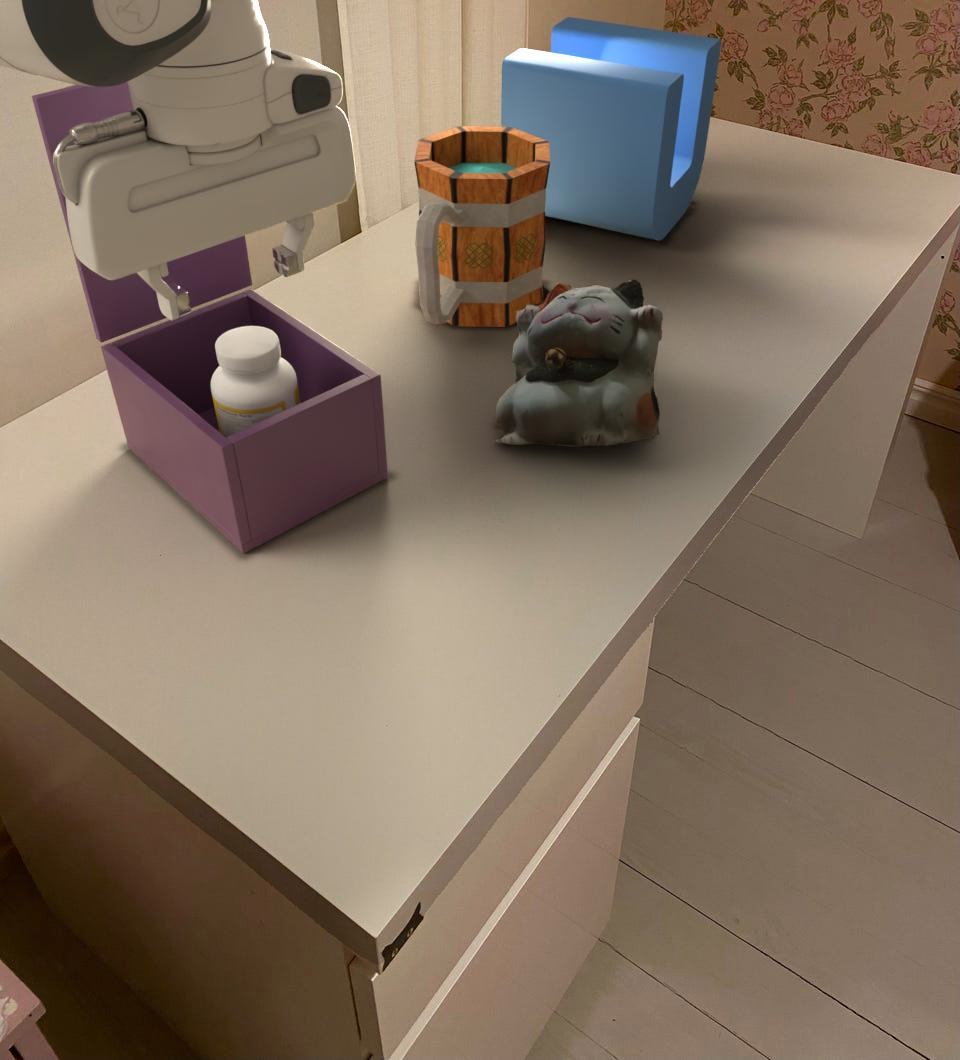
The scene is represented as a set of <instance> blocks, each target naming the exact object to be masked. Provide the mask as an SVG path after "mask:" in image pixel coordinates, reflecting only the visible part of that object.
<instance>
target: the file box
mask: <svg viewBox="0 0 960 1060" xmlns="http://www.w3.org/2000/svg"><path fill="white" fill-rule="evenodd" d="M244 326H260V327H265V328H268V329H270V330H272V331H273V332H274V333H276V335H277V336H278V339H279V344H280V349H281V358H283V359H285V360H286V361H287V362H288V363H289V364H290V365H291V366H292V367H293V369H294V371H295V373H296V377H297V383H298V390H299V397H300V404H298V405H296V406H294V407H292V408H290V409H288V410H285V411H283V412H281V413H279V414H277V415H274V416H272V417H270V418H268V419H266V420H264V421H261V422H259V423H257V424H255V425H253V426H251V427H248V428H246V429H244V430H242V431H240V432H238V433H235V434H233V435H231V436H229V437H227V438H226V437H224V436H223V435H222V434H221V433H220V431H219V426H218V421H217V417H216V412H215V407H214V402H213V397H212V392H211V379H212V376H213V374H214V372H215V370H216V369H217V368H218V367H219V366H220V365H219V363H218V360H217V355H216V350H215V343H216V341H217V339H218V338H219V337H220V336H221V335H222V334H223V333H225V332H227V331H229V330H231V329H235V328H238V327H244ZM100 349H101V353H102V356H103V360H104V364H105V367H106V371H107V375H108V378H109V382H110V385H111V389H112V392H113V393H112V394H113V397H114V400H115V404H116V409H117V411H118V415H119V418H120V421H121V426H122V429H123V433H124V436H125V440H126V443H127V447H128V449H129V450H130V451H132V453H134V455H136V456H137V457H138V458H139V459H140V460H141V461H143V463H144V464H146V465H147V466H148V467H149V468H150V469H151V470H152V471H153V472H154V473H155V474H156V475H157V476H158V477H159V478H161V479H162V480H163V482H165V483H166V484H167V485H168V486H169V487H170V488H172V489H173V490H174V491H175V492H176V493H177V495H179V496H180V497H181V498H182V499H183V500H184V501H185V502H187V503H188V505H190V506H191V507H192V508H193V509H194V510H195V511H196V512H197V513H198V514H200V515H201V516H202V517H203V518H204V519H205V520H206V521H207V522H208V523H209V524H210V525H211V526H213V527H214V528H215V529H216V530H217V531H218V532H219V533H220V534H221V535H222V536H224V538H225V539H227V540H228V542H230V543H231V544H232V545H233V546H234V547H235V548H236V549H238V550H239V551H240V552H241V553H242V554H246V553H248V552H250V551H253V549H255V548H258V547H260V546H261V545H263V544H265V543H267V542H268V541H270V540H272V539H274V538H276V537H278V536H280V535H282V534H284V533H286V532H287V531H290V530H291V529H293V528H295V527H297V526H299V525H301V524H302V523H305V522H306V521H308V520H310V519H312V518H314V517H316V516H318V515H319V514H321V513H323V512H326V511H327V510H329V509H331V508H333V507H335V506H337V505H338V504H340V503H342V502H344V501H346V500H348V499H350V498H352V497H354V496H355V495H357V494H359V493H361V492H362V491H365V490H366V489H368V488H371V487H373V486H374V485H377V484H378V483H379V482H382V481H384V480H385V479H387V478H388V477H389V473H388V458H387V457H388V456H387V444H386V429H385V415H384V402H383V400H384V399H383V390H382V389H383V388H382V387H383V386H382V375H381V374H380V373H379V372H378V371H376V370H375V369H374V368H372V367H370V366H369V365H367V364H366V363H364V362H363V361H361V360H359V359H358V358H357V357H355V356H353V355H352V354H350V353H349V352H348V351H346V350H345V349H343V348H341V347H340V346H338V345H337V344H335V343H334V342H332V341H331V340H329V339H327V338H326V337H324V336H323V335H322V334H320V333H319V332H317V331H315V330H314V329H313V328H311V327H310V326H308V325H307V324H305V323H304V322H302V321H301V320H299V319H297V318H296V317H294V316H293V315H291V314H290V313H288V312H287V311H286V310H284V309H282V307H279V306H278V305H276V304H275V303H273V302H272V301H270V300H269V299H267V298H266V297H264V296H263V295H261V294H260V293H258V292H257V291H255V290H254V289H252V288H249V289H246V290H244V291H242V292H239V293H236V294H233V295H231V296H229V297H226V298H223V299H220V300H217V301H215V302H213V303H210V304H208V305H205V306H203V307H200V308H197V309H195V310H191V313H190V314H188V315H185V316H183V317H180V318H177V319H175V320H172V321H171V320H170V319H168V320H166V321H164V322H163V321H162V322H160V323H158V324H155V325H153V326H150V327H148V328H145V329H143V330H139V331H137V332H135V333H131V334H128V335H127V336H124V337H121V338H119V339H115V340H113V341H110V342H109V343H106V344H103V345H101V346H100Z"/></svg>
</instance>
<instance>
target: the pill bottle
mask: <svg viewBox="0 0 960 1060" xmlns="http://www.w3.org/2000/svg"><path fill="white" fill-rule="evenodd" d="M215 350H216V355H217V360H218V363H219V365H220V366H219V367H218V368H217V369H216V370H215V372H214V374H213V376H212V379H211V392H212V397H213V402H214V407H215V412H216V417H217V421H218V426H219V431H220V433H221V434H222V435H223V436H224V437H226V438H227V437H229V436H231V435H233V434H235V433H238V432H240V431H242V430H244V429H246V428H248V427H251V426H253V425H255V424H257V423H259V422H261V421H264V420H266V419H268V418H270V417H272V416H274V415H277V414H279V413H281V412H283V411H285V410H288V409H290V408H292V407H294V406H296V405H298V404H300V397H299V390H298V383H297V377H296V373H295V371H294V369H293V367H292V366H291V365H290V364H289V363H288V362H287V361H286V360H285V359H283V358H281V349H280V344H279V339H278V336H277V335H276V333H274V332H273V331H272V330H270V329H268V328H265V327H260V326H244V327H238V328H235V329H231V330H229V331H227V332H225V333H223V334H222V335H221V336H220V337H219V338H218V339H217V341H216V343H215Z"/></svg>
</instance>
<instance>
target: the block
mask: <svg viewBox="0 0 960 1060" xmlns="http://www.w3.org/2000/svg"><path fill="white" fill-rule="evenodd" d="M550 35H551V36H550V51H543V50H537V49H529V48H523V47H520V48H518V49H517V50H515V51H514V52H512V53H511V54H509V55H508V56H506V57H504V59H503V61H502V64H501V92H500V93H501V94H500V96H501V97H500V99H501V100H500V103H501V104H500V105H501V106H500V109H501V110H500V127H512V128H515V129H517V130H520V131H523V132H525V133H528V134H530V135H533V136H536V137H538V138H541V139H543V140H546V141H549V150H550V168H549V174H548V180H547V186H546V203H545V217H548V218H553V219H558V220H562V221H567V222H572V223H576V224H580V225H584V226H590V227H595V228H600V229H603V230H609V231H613V232H617V233H621V234H627V235H630V236H631V235H632V236H635V237H636V236H637V237H641V238H645V239H649V240H653V241H654V240H655V241H662V240H663V239H664V238H665V237H666V236H667V235H668V234H669V233H670V231H671V230H672V229H673V228H674V227H675V226H676V224H677V223H678V222H679V221H680V220H681V218H682V217H683V216H684V214H685V213H686V212H687V210H688V208H689V207H690V204H691V202H692V200H693V198H694V195H695V193H696V190H697V187H698V183H699V180H700V177H701V174H702V170H703V165H704V160H705V156H706V151H707V142H708V137H709V129H710V122H711V115H712V110H713V103H714V95H715V88H716V82H717V75H718V68H719V62H720V56H721V55H720V54H721V49H722V48H721V47H722V39H721V38H715V37H709V36H703V35H695V34H689V33H681V32H676V31H669V30H661V29H654V28H648V27H641V26H634V25H628V24H627V25H626V24H620V23H614V22H608V21H607V22H606V21H600V20H593V19H587V18H579V17H572V16H567V17H565V18H564V19H563V20H561V21H560V22H558V23H557V24H555V25H553V27H552V29H551V34H550Z"/></svg>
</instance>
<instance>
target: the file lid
mask: <svg viewBox="0 0 960 1060" xmlns="http://www.w3.org/2000/svg"><path fill="white" fill-rule="evenodd" d="M31 99H32V102H33V103H32V104H33V106H34V110H35V114H36V118H37V121H38V125H39V129H40V133H41V136H42V137H41V138H42V140H43V144H44V148H45V151H46V155H47V158H48V162H49V166H50V171H51V175H52V177H53V181H54V185H55V188H56V192H57V196H58V200H59V202H60V208H61V211H62V215H63V218H64V223H65V226H66V229H67V230H66V231H67V234H68V237H69V241H70V245H71V248H72V253H73V256H74V260H75V264H76V267H77V271H78V274H79V278H80V283H81V286H82V289H83V294H84V296H85V301H86V305H87V308H88V311H89V315H90V319H91V324H92V327H93V330H94V334H95V338H96V340H97V341H98V342H99V343H104V342H107V341H111V340H112V339H115V338H117V337H120V336H123V335H125V334H128V333H130V332H131V333H132V332H133V331H136V330H139V329H141V328H144V327H146V326H149V325H151V324H154V323H157V322H159V321H162V320H165V319H168V318H167V317H166V316H164V315H163V314H162V312H161V310H160V308H159V303H158V298H157V294H156V291H154V290H153V289H152V288H151V287H150V286H149V285H148V284H147V283H146V282H145V281H144V280H143V279H142V278H141V277H140V276H139V275H138V274H137V273H134V274H131V275H128V276H125V277H123V278H120V279H116V280H108V279H105V278H104V277H102V276H100V275H98V274H97V273H95V272H93V271H92V270H90V269H89V268H88V267H86V266H85V265H84V264H83V263H82V262H81V261H80V260H79V259H78V258H77V256H76V255H75V252H74V249H73V245H72V240H71V235H70V230H69V224H68V217H67V208H66V197H65V196H64V195H63V193H62V192H61V190H60V187H59V184H58V180H57V176H56V172H55V168H54V164H53V154H54V152H55V150H56V148H57V146H58V144H59V143H60V142H61V141H62V140H63V139H64V138H65V137H67V136H68V135H70V134H69V131H70V129H71V128H73V127H75V126H77V125H80V124H83V123H89V122H91V123H95V122H98V121H102V120H105V119H107V118H110V117H112V116H115V115H119V114H122V113H126V112H129V111H133V106H132V101H131V96H130V91H129V87H128V82H125V83H123V84H120V85H116V86H110V87H96V86H81V85H75V84H71V85H68V86H65V87H63V88H60V89H58V88H57V89H54V90H50V91H45V92H42V93H37V94H33V95H31ZM72 145H75V144H74V143H73V142H71V143H70V144H69V145H68V146H72ZM68 146H67V147H68ZM167 267H168V273H169V274H168V276H166V277H161V279H162V280H163V281H164V282H165V283H166V284H167V285H171V284H174V283H175V284H176V285H178V286H179V287H180V289H183V290H185V291H186V292H188V296H189V304H188V305H189V306H190V307H191V309H193V308H196V307H199V306H202V305H204V304H207V303H209V302H212V301H214V300H217V299H220V298H222V297H226V296H227V295H231V294H233V293H235V292H238V291H241V290H243V289H246V288H248V287H251V286H253V281H252V274H251V273H252V272H251V266H250V260H249V253H248V245H247V237H246V235H245V236H242V237H239V238H236V239H233V240H230V241H227V242H225V243H222V244H219V245H216V246H213V247H210V248H207V249H204V250H201V251H198V252H195V253H193V254H190V255H187V256H184V257H181V258H178V259H175V260H172V261H169V262H167Z"/></svg>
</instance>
